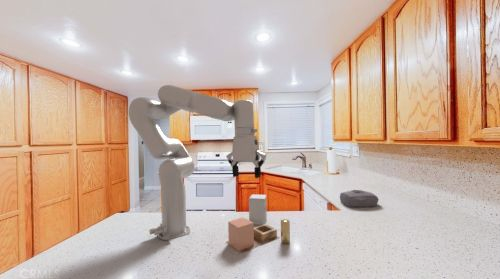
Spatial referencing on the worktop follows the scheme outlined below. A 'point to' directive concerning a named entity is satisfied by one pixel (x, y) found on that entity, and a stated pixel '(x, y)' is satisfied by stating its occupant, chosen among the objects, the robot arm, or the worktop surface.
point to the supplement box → (257, 209)
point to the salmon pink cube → (241, 233)
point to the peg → (285, 231)
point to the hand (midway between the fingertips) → (246, 176)
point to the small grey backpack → (358, 199)
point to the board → (261, 236)
